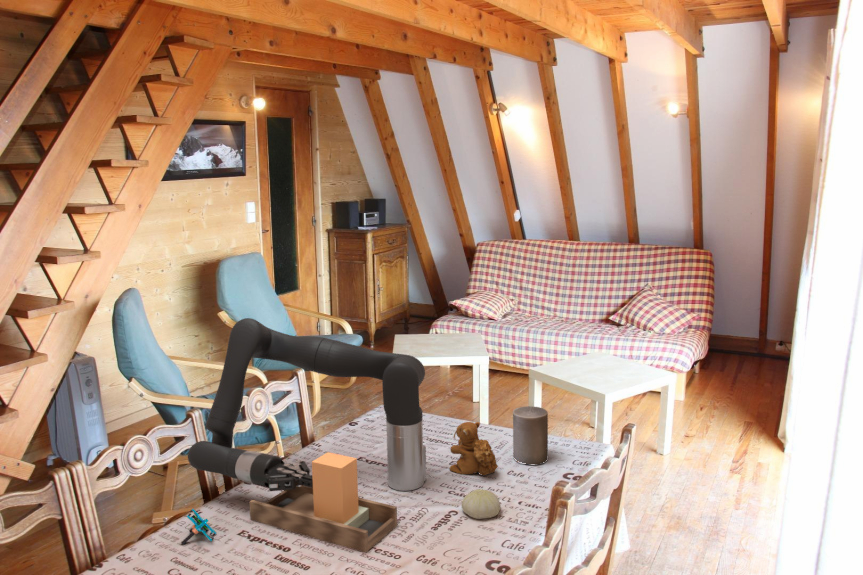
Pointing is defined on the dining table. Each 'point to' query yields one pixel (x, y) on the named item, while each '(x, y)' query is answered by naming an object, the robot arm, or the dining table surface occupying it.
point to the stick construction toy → (198, 526)
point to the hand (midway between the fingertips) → (317, 483)
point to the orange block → (335, 487)
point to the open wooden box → (298, 516)
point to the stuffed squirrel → (472, 451)
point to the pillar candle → (530, 435)
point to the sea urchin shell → (481, 504)
